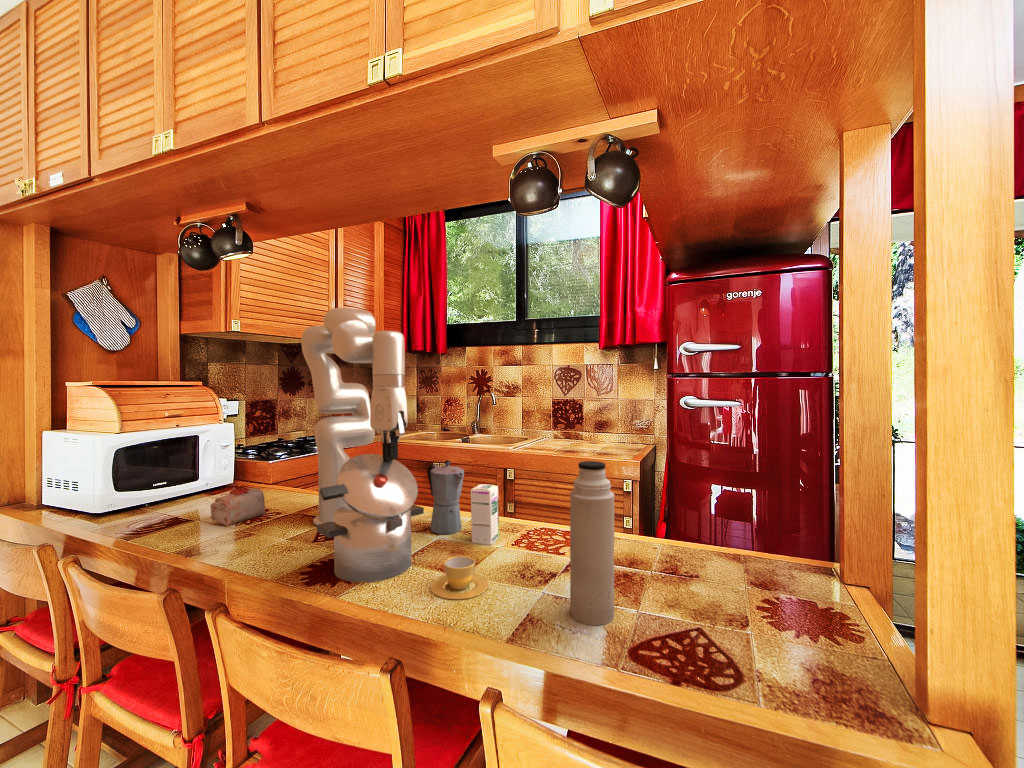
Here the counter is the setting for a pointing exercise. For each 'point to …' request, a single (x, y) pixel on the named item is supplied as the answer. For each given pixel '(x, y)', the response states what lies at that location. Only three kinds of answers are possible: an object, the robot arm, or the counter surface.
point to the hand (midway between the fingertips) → (390, 458)
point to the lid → (374, 487)
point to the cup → (459, 579)
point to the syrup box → (485, 514)
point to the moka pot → (445, 497)
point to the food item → (238, 506)
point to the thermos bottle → (592, 546)
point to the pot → (370, 544)
